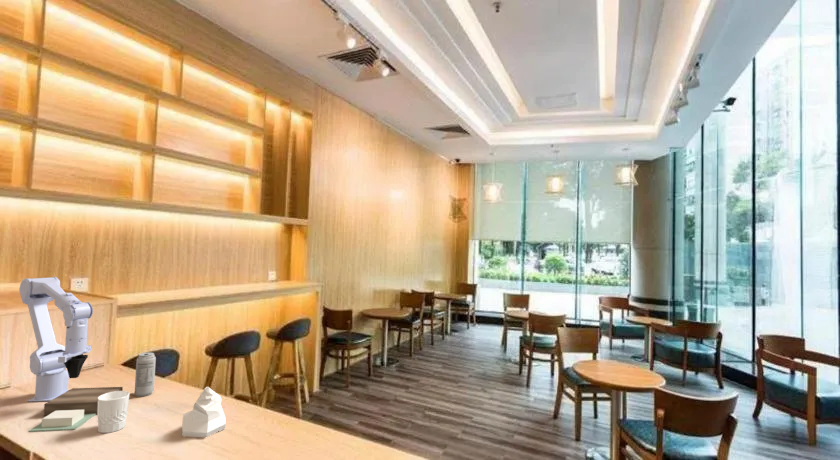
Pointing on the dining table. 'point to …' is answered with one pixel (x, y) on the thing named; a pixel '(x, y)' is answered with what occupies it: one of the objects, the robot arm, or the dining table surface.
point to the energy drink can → (145, 374)
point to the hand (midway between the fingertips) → (74, 377)
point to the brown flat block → (78, 400)
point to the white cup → (112, 411)
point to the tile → (62, 418)
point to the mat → (58, 428)
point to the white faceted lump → (204, 416)
